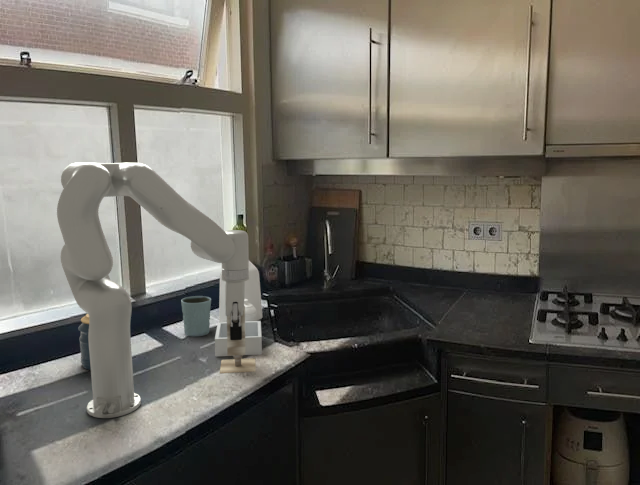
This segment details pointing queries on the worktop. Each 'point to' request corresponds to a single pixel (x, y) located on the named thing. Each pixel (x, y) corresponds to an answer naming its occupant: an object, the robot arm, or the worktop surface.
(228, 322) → the strut
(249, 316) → the spinning top
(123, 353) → the robot arm
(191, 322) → the teal cup
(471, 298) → the worktop surface
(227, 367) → the square lid with knob
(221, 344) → the bin
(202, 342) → the worktop surface
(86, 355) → the canister
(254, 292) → the milk
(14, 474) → the worktop surface
